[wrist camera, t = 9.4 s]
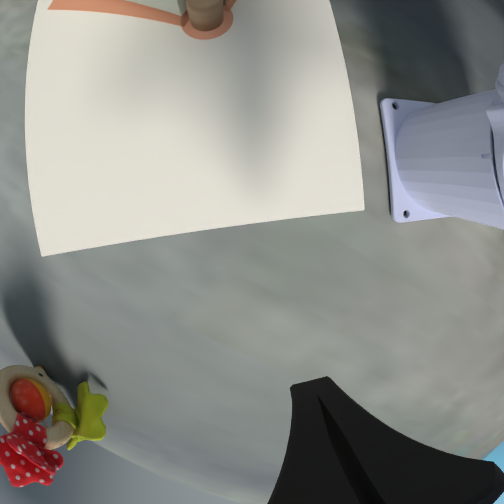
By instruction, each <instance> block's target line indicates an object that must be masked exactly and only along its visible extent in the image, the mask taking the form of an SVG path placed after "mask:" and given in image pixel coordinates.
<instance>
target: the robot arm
mask: <svg viewBox="0 0 504 504" xmlns="http://www.w3.org/2000/svg"><path fill="white" fill-rule="evenodd" d="M495 87H496V89H494V90H489V91H485V92H481V93H476V94H472V95H468V96H464V97H460V98H456V99H453V100H449V101H445V102H442V103H438V104H437V103H430V102H422V101H413V100H403V99H392V98H385V99H383V100H382V101H381V102H380V109H381V116H382V122H383V129H384V137H385V144H386V153H387V162H388V173H389V185H390V201H391V216H392V219H393V220H394V221H395V222H409V221H417V220H425V219H434V218H442V217H451V216H453V217H457V218H461V219H465V220H469V221H473V222H477V223H481V224H485V225H489V226H493V227H496V228H500V229H503V230H504V62H503V63H502V64H501V66H500V68H499V74H498V77H497V79H496V83H495ZM392 103H393V104H394V105H395V106H396V110H395V109H394V108H393V106H392ZM405 210H406V213H407V214H406V216H405V217H404V216H403V213H404V211H405ZM290 391H291V397H292V420H291V429H290V435H289V440H288V445H287V450H286V454H285V458H284V462H283V465H282V468H281V471H280V474H279V477H278V480H277V483H276V485H275V488H274V490H273V493H272V495H271V497H270V499H269V502H268V504H493V503H494V502H495V501H496V500H497V499H498V498H499V497H500V495H501V494H502V493H503V492H504V473H503V472H502V471H501V469H500V468H499V467H498V466H497V465H496V464H495V463H494V462H491V461H484V460H477V459H471V458H465V457H461V456H457V455H453V454H450V453H446V452H443V451H440V450H438V449H435V448H432V447H429V446H427V445H424V444H422V443H419V442H417V441H415V440H413V439H411V438H409V437H407V436H405V435H403V434H401V433H399V432H397V431H396V430H394V429H392V428H391V427H389V426H387V425H386V424H384V423H383V422H381V421H380V420H378V419H377V418H375V417H374V416H373V415H371V414H370V413H369V412H367V411H366V410H365V409H364V408H362V407H361V406H360V405H359V404H357V403H356V402H355V401H354V400H353V399H351V398H350V397H349V396H348V395H347V394H346V393H345V392H344V391H343V390H342V389H341V388H339V387H338V386H337V385H336V383H335V382H334V381H333V380H332V379H331V378H329V377H328V376H326V377H322V378H319V379H315V380H311V381H307V382H302V383H298V384H294V385H292V386H291V387H290Z"/></svg>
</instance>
